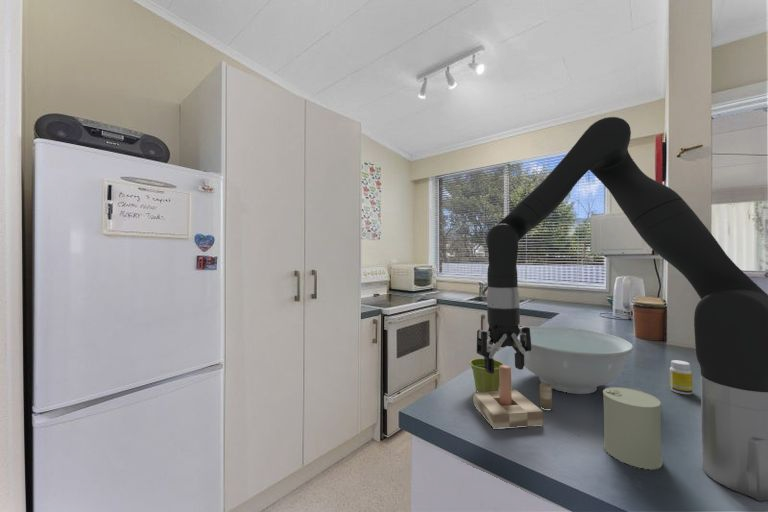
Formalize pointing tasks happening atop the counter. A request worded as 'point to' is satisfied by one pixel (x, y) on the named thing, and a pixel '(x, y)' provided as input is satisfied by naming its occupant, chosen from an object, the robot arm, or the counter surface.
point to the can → (632, 427)
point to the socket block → (508, 410)
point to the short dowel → (545, 396)
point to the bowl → (575, 358)
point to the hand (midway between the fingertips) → (504, 370)
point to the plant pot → (485, 376)
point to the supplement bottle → (680, 377)
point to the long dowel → (505, 385)
